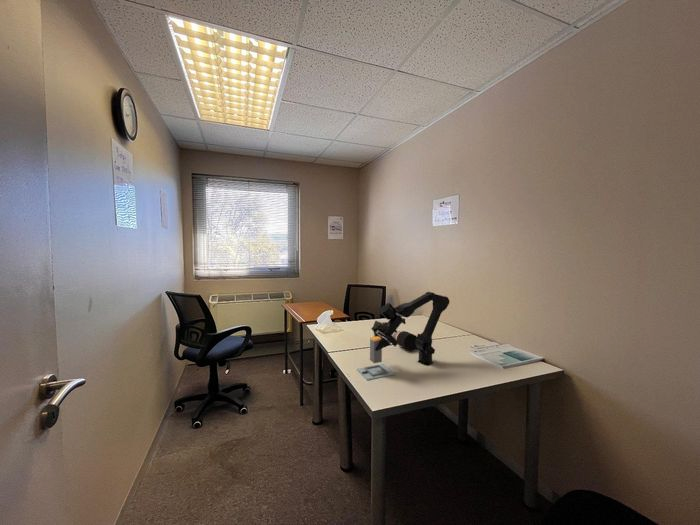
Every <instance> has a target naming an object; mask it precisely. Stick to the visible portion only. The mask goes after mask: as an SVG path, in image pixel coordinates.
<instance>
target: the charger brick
mask: <svg viewBox="0 0 700 525" xmlns="http://www.w3.org/2000/svg"><path fill="white" fill-rule="evenodd" d="M369 338H370V339H369V341H370V344H369V360H370V362H372V363H373V364H378V363H382V361H383V360H382V359H383V358H382V357H383V348H382V349H380V350H378V351H376V350H375V349H376V347H377V346H378V344H379V343H380V341H381V338H380V337H378V336H375V337H374V336H370V337H369Z"/></svg>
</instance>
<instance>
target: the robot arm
mask: <svg viewBox="0 0 700 525" xmlns="http://www.w3.org/2000/svg"><path fill="white" fill-rule="evenodd" d="M431 301H432V310H431V313H430V315H429V317H428V319H427V322H426V324H425V327H424V329H423V332H421V333H417V335H416V336H417V338H416V339H415V340H416V342H415V344H416V346H417V350H418V351H419V352H418V360H417V362H418V363H420V364H423V365H424V366H430V365H431V364H434V361H433V354H435V352H436V349H435V348H434V347H433V346H432V344H433V338H432V337H433V334H434V332H435V329H436V327H437V324H438V322H439V319H440V316H441V315H442V313H443V312H444V311H445V310H447V308H448V306H449V305H450V299H449V297H448V296H446V295H442V294H441V295H440V294H436V293H435V292H431V291H427V292H425V293H423V294H422V295H420V296H419V297H417V298H415V299H413V300H412V301H410V302H404V303H401V304H399V305H397V306H396V307H393V305H392V303H390V302H387V303H386V304H384V305H383V306H381V307H380V309H379V313H380V314H381V315H382V316H383V317H384V318H385V319H386V320H388V321H387V322H386V321H385V322H381V321H378V320H375V321H374V324H373V326H372V327H371V330H372V332H373V335H374V336H373V337H375V336H378V337H380V338H381V341H380V343H379V344H378V346H377V347H376V349H375V350H376V351H378V350H380V349H382V350H383V348H386V347H389V346H393V347H397V345H398V341H397V340H396V339H395V338H394V337H393V336H392V334H393V333H394V332H397V331H398V330H397V329H398V328H399V327H400V326H401V324H403V325H406V324H407V323H406V318H409V317H410V316H412V315H413V314H414V313H415V311H416V310H417V309H418V308H421V307H422V306H424V305H426V304H428V303H429V302H431ZM396 330H397V331H396Z"/></svg>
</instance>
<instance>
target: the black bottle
mask: <svg viewBox="0 0 700 525" xmlns="http://www.w3.org/2000/svg"><path fill="white" fill-rule="evenodd" d="M396 331H397V332H394V333H393V334H392V336H393V337H394V338H395V339H396V340H397V341H398V344H397V345H398V346H399V347H401V348H402V349H404V350H406V351H409V352H413V351H416V350H418V348H417V346H416V344H415V342H416V340H415V339H416V338H417V335H415V334H414V333H411V332H408V331H405V330H402V331H400V330H397V329H396Z"/></svg>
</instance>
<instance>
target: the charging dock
mask: <svg viewBox="0 0 700 525" xmlns="http://www.w3.org/2000/svg"><path fill="white" fill-rule="evenodd" d="M356 371H357V372H358V373H359V374H360V375H361V376H362V377H363V378H364V379H365V380H366V381H370V380H375V379H380V378H381V379H382V378H385V377H390V376H395V375H397V373H396V372H395V371H393V369H391V368H390V367H388V366H387V365H386V364H385V363H381V364H376V365H370V366H366V367H365V366H364V367H359V368H356Z"/></svg>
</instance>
